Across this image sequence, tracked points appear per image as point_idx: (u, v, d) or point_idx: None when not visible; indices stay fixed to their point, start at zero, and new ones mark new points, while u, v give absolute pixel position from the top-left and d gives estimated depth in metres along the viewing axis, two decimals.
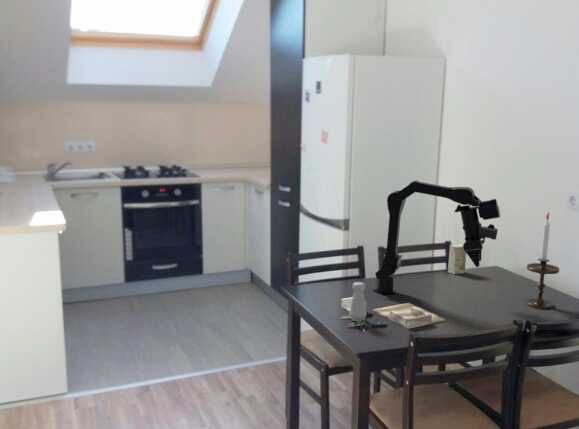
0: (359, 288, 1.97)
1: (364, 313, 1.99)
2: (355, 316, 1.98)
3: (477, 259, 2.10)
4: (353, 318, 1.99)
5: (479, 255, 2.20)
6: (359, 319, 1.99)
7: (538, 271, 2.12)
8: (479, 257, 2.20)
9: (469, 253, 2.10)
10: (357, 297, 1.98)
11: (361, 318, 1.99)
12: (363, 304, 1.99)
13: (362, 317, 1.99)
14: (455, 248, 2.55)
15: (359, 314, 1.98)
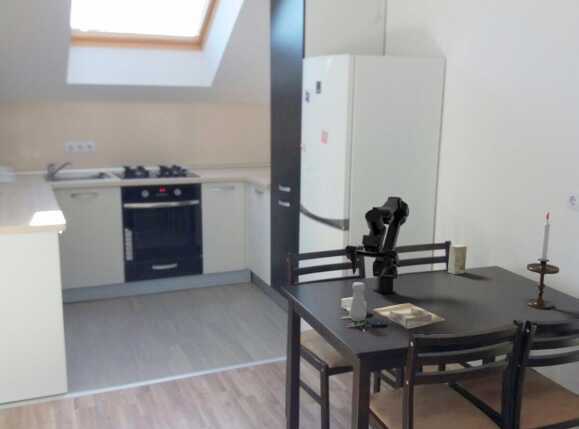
0: (359, 288, 1.97)
1: (364, 313, 1.99)
2: (355, 316, 1.98)
3: (352, 265, 2.09)
4: (353, 318, 1.99)
5: None
6: (359, 319, 1.99)
7: (538, 271, 2.12)
8: (379, 273, 2.05)
9: None
10: (357, 297, 1.98)
11: (361, 318, 1.99)
12: (363, 304, 1.99)
13: (362, 317, 1.99)
14: (455, 248, 2.55)
15: (359, 314, 1.98)
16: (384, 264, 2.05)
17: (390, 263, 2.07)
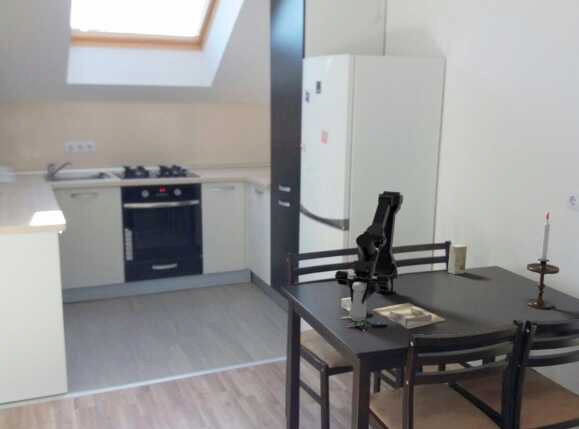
0: (359, 288, 1.97)
1: (364, 313, 1.99)
2: (355, 316, 1.98)
3: None
4: (353, 318, 1.99)
5: (363, 297, 1.99)
6: (359, 319, 1.99)
7: (538, 271, 2.12)
8: None
9: None
10: (357, 297, 1.98)
11: (361, 318, 1.99)
12: (363, 304, 1.99)
13: (362, 317, 1.99)
14: (455, 248, 2.55)
15: (359, 314, 1.98)
16: (368, 290, 1.99)
17: (374, 288, 2.01)
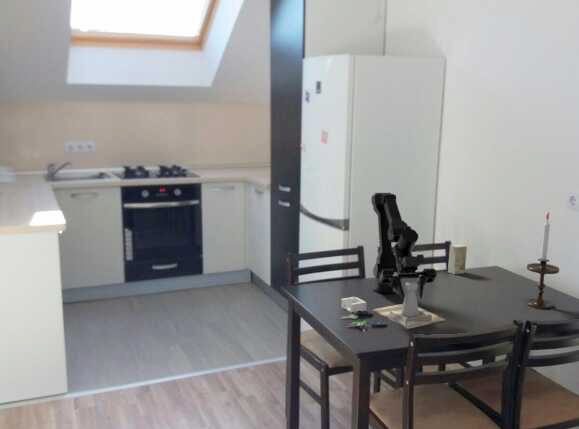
0: (415, 287, 1.96)
1: (418, 311, 1.99)
2: (412, 316, 1.97)
3: (399, 290, 1.98)
4: None
5: (419, 292, 1.99)
6: None
7: (538, 271, 2.12)
8: (419, 294, 1.98)
9: (394, 286, 2.02)
10: (412, 297, 1.97)
11: None
12: (417, 303, 1.99)
13: (417, 316, 1.99)
14: (455, 248, 2.55)
15: (416, 313, 1.98)
16: (422, 284, 1.99)
17: None
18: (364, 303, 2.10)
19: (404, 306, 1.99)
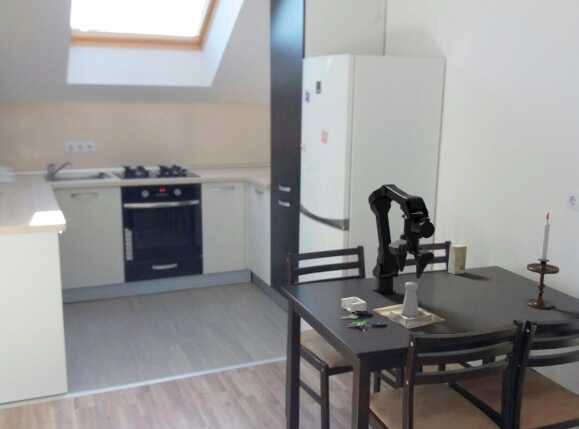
0: (415, 287, 1.97)
1: (418, 311, 1.99)
2: (412, 316, 1.97)
3: None
4: None
5: None
6: None
7: (538, 271, 2.12)
8: None
9: None
10: (412, 297, 1.97)
11: None
12: None
13: (417, 316, 1.99)
14: (455, 248, 2.55)
15: (416, 313, 1.98)
16: (417, 266, 2.06)
17: None
18: (364, 303, 2.10)
19: (404, 306, 1.99)
